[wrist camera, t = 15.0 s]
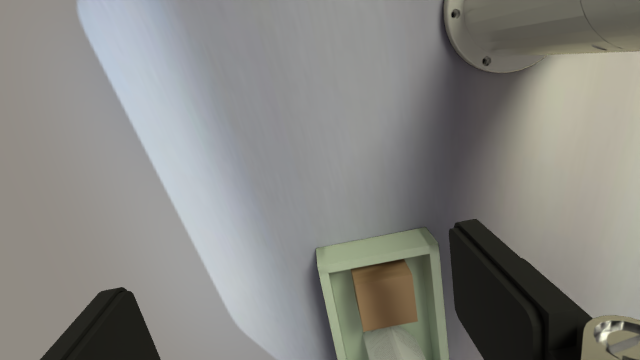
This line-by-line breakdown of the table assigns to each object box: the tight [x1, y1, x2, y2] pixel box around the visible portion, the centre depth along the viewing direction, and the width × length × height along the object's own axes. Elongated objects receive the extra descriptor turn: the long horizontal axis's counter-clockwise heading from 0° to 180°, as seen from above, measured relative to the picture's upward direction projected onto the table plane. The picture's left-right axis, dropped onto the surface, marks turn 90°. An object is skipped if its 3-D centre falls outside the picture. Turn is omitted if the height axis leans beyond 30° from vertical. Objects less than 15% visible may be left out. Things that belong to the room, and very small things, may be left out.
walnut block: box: [351, 259, 418, 332], centre depth 40 cm, size 6×6×5 cm
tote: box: [316, 227, 449, 360], centre depth 43 cm, size 13×20×4 cm, turn 11°
